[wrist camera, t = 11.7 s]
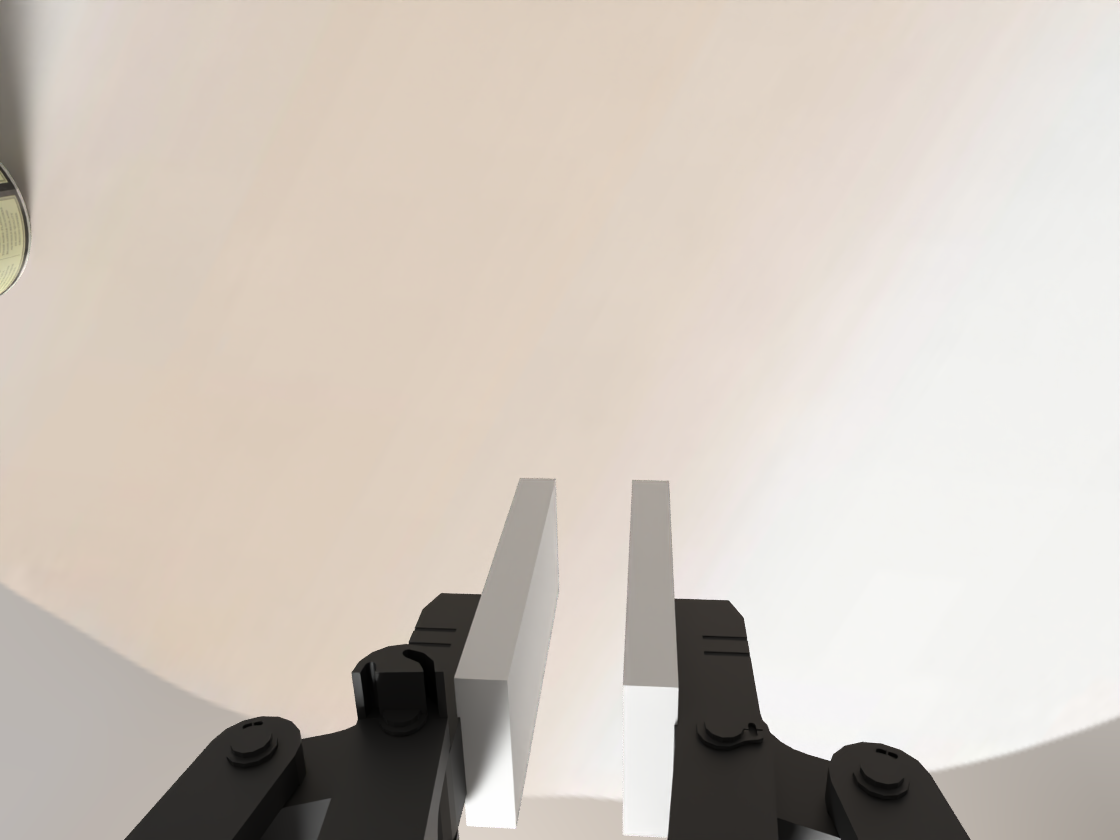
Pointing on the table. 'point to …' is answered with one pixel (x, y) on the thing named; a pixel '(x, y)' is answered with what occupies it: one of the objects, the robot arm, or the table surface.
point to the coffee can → (12, 232)
